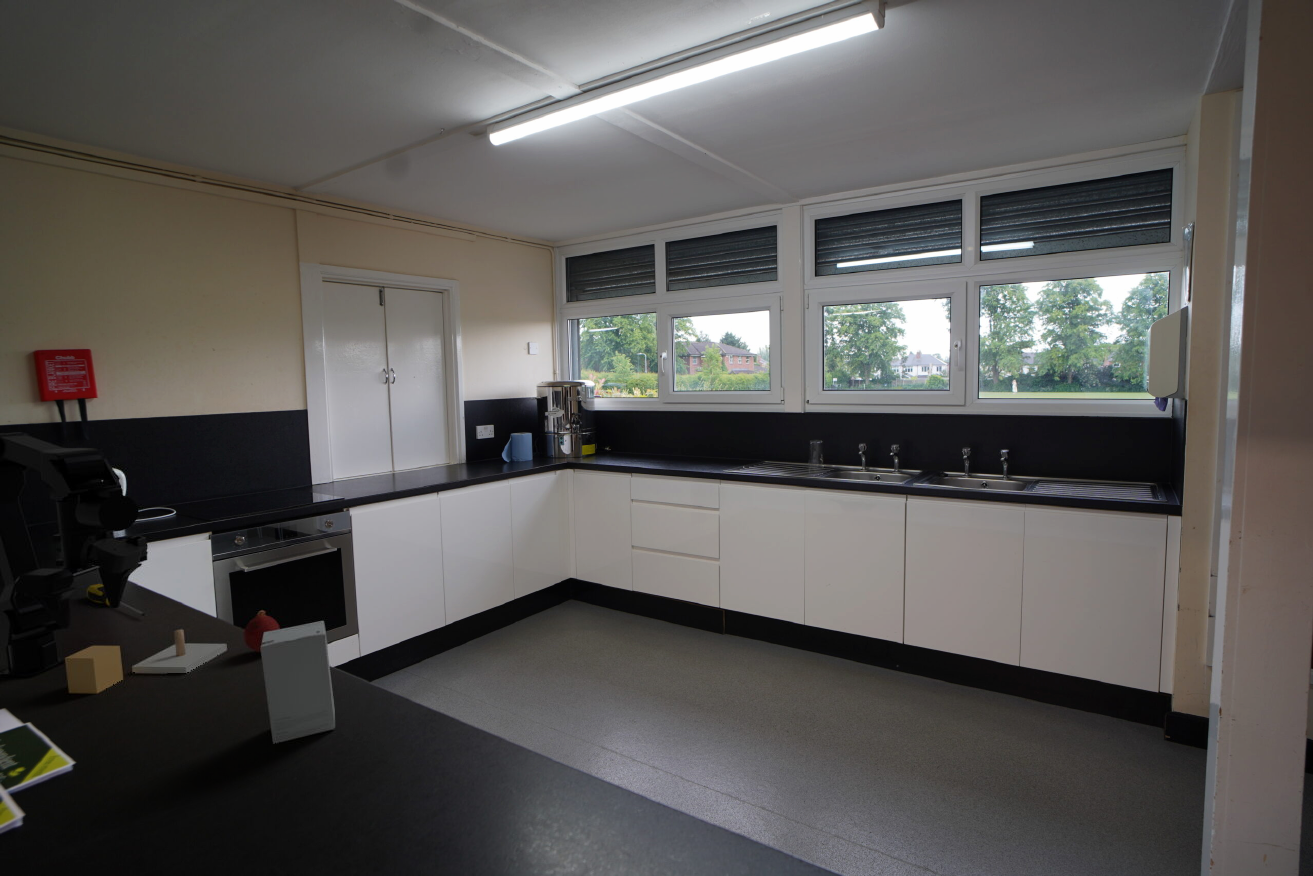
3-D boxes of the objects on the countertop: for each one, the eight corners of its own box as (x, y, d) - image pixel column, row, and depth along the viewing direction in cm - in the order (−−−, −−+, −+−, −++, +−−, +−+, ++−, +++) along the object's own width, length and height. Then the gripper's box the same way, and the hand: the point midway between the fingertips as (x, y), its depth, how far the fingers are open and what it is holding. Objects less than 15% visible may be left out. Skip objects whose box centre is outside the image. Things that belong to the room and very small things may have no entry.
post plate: (132, 673, 119) (129, 641, 118) (177, 649, 129) (174, 620, 128) (186, 673, 118) (183, 642, 118) (227, 650, 128) (224, 620, 128)
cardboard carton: (69, 693, 112) (65, 658, 111) (96, 679, 117) (92, 645, 116) (97, 693, 112) (93, 658, 111) (123, 679, 117) (119, 646, 116)
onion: (265, 660, 123) (261, 617, 122) (238, 658, 124) (234, 616, 123) (288, 647, 129) (285, 606, 128) (262, 645, 130) (258, 605, 129)
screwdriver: (84, 585, 160) (135, 610, 143) (101, 581, 163) (154, 605, 146) (85, 599, 161) (136, 625, 144) (103, 595, 163) (155, 620, 147)
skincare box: (334, 713, 103) (327, 618, 102) (335, 731, 98) (327, 632, 96) (271, 727, 100) (263, 629, 98) (268, 747, 94) (259, 643, 93)
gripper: (76, 541, 102) (86, 641, 104) (172, 513, 120) (179, 599, 122) (6, 540, 103) (18, 640, 104) (113, 513, 121) (121, 598, 123)
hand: (91, 617), depth 113 cm, fingers open, 9 cm apart
